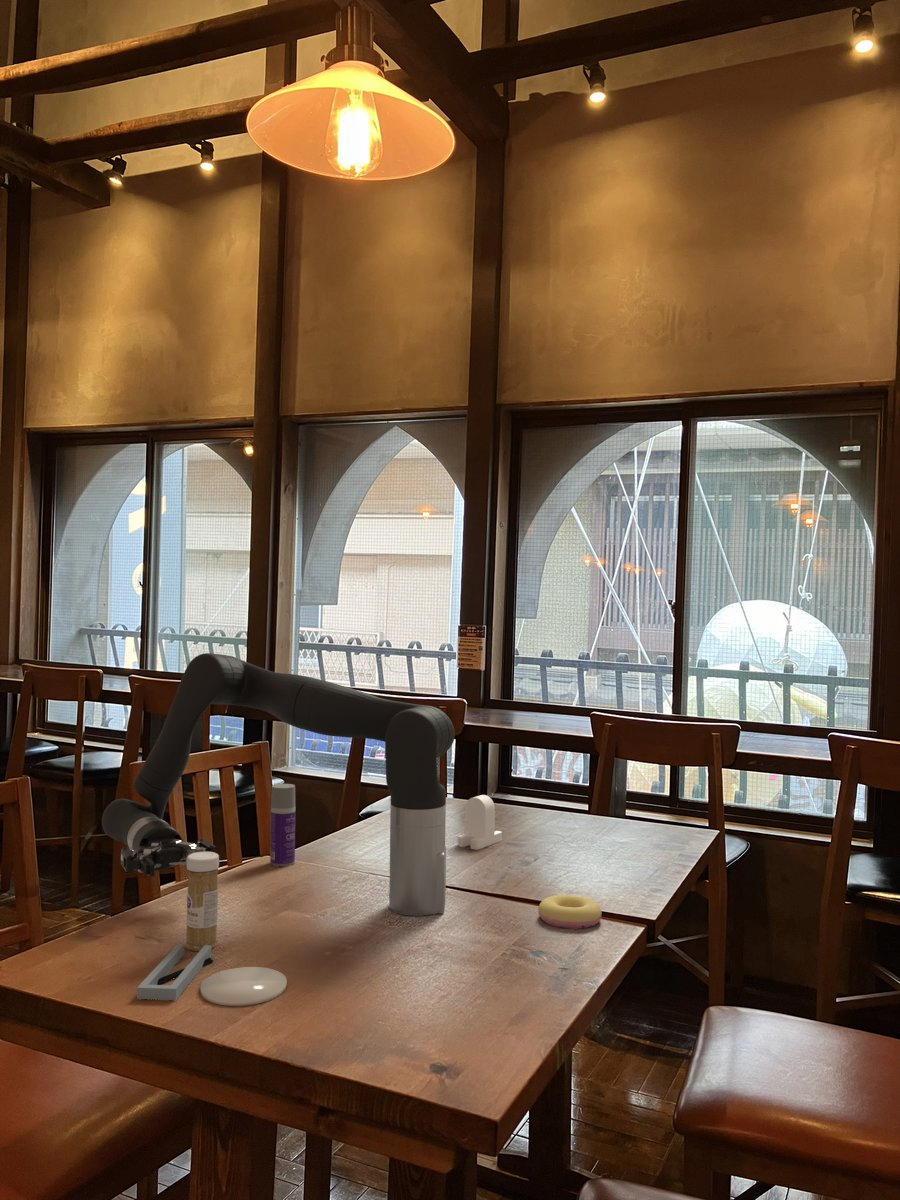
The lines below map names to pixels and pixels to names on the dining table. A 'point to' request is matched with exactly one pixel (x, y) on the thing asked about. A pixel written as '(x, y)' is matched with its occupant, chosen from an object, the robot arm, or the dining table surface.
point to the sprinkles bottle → (202, 900)
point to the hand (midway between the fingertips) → (180, 866)
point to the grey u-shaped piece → (168, 992)
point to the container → (282, 825)
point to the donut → (570, 911)
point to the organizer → (479, 824)
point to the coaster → (243, 986)
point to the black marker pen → (177, 973)
